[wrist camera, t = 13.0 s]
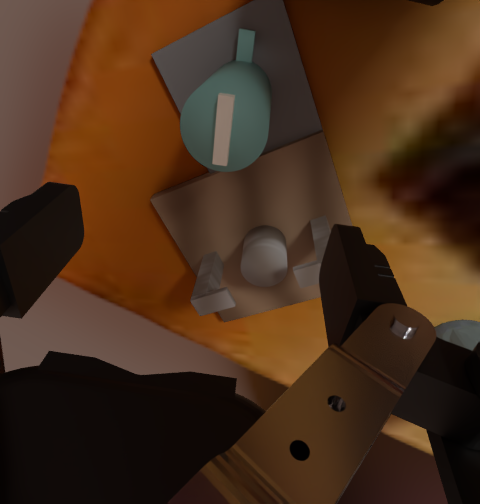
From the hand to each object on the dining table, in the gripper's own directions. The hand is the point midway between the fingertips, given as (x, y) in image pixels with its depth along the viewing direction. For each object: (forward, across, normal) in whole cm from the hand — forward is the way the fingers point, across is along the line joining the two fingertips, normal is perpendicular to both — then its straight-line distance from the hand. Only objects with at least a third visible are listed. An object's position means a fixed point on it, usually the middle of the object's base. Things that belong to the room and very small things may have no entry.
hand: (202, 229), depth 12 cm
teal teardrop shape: (+20, 0, 0) cm, 20 cm away
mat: (+21, +1, 0) cm, 21 cm away
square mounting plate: (+21, -3, +12) cm, 24 cm away
